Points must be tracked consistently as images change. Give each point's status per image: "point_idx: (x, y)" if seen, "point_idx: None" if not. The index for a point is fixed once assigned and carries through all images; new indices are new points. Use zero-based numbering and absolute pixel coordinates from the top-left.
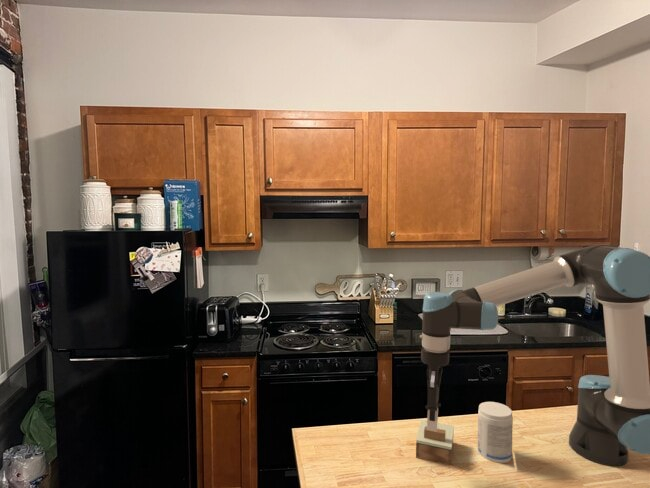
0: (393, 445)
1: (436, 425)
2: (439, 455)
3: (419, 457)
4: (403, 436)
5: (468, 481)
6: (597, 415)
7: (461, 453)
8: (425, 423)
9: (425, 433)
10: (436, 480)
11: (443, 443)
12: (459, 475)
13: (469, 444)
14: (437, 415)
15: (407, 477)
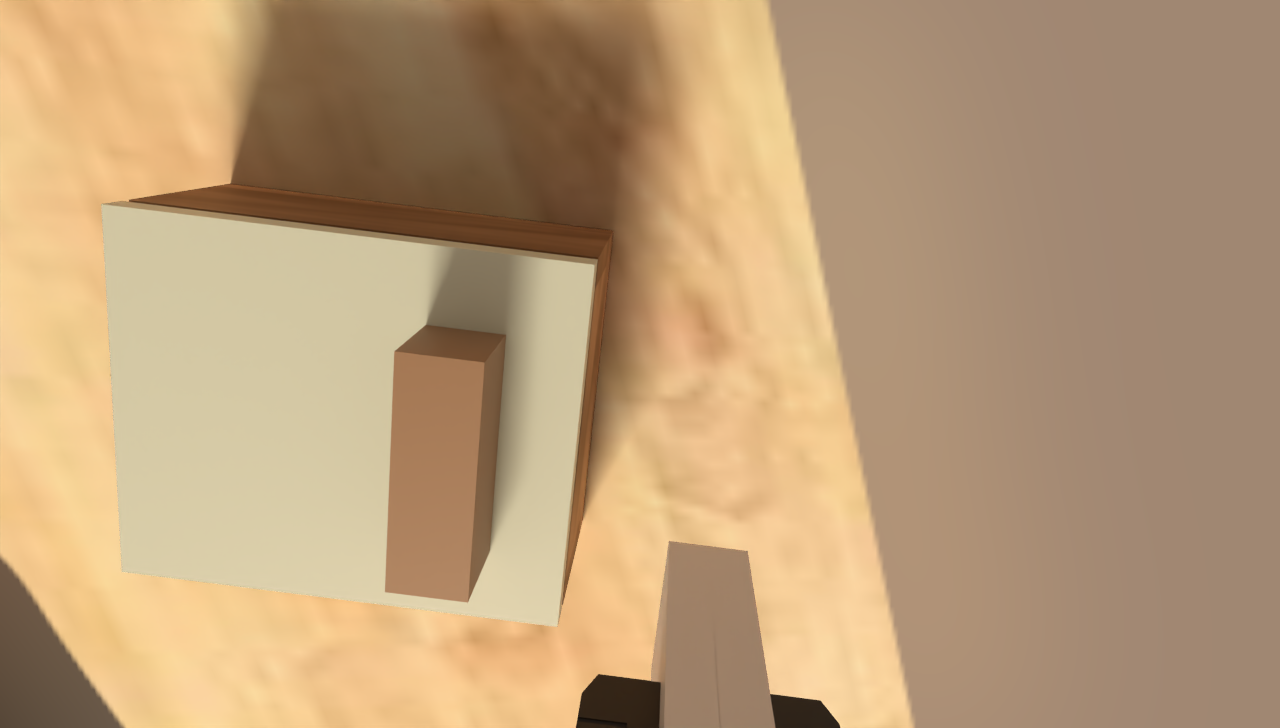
0: (426, 692)
1: (754, 609)
2: (594, 359)
3: (581, 508)
4: (261, 621)
5: (770, 85)
6: None
7: (348, 110)
8: (184, 530)
9: (479, 565)
10: (814, 364)
11: (543, 352)
12: (701, 161)
13: (155, 8)
14: (758, 710)
15: (823, 581)
